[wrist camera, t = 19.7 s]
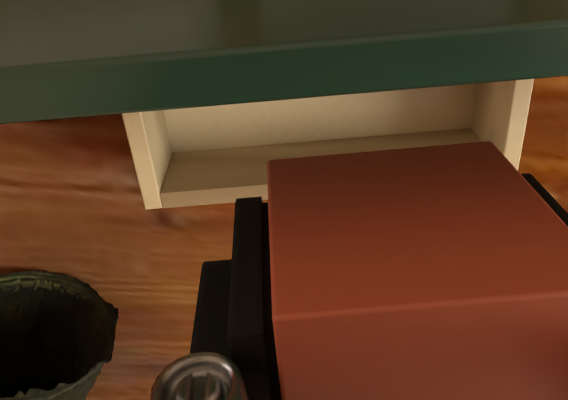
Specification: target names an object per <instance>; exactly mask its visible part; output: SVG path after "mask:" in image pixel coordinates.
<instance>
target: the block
mask: <svg viewBox="0 0 568 400" xmlns="http://www.w3.org/2000/svg"><path fill="white" fill-rule="evenodd" d="M267 187H268V215H269V243H270V271H271V299H272V322H273V330H274V339H275V347H276V356H277V365H278V373H279V382H280V391H281V399H282V400H568V226H567V225H566V224H565V223H564V222H563V221H562V220H561V219H560V217H559V216H558V215H557V214H556V213H555V212H554V211H553V210H552V209H551V207H550V206H549V205H548V204H547V203H546V202H545V201H544V200H543V198H542V197H541V196H540V195H539V194H538V193H537V192H536V191H535V190H534V188H533V187H532V186H531V185H530V184H529V183H528V182H527V181H526V179H525V178H524V177H523V176H522V175H521V174H520V173H519V172H518V171H517V169H516V168H515V167H514V166H513V165H512V164H511V163H510V162H509V160H508V159H507V158H506V157H505V156H504V155H503V154H502V153H501V152H500V150H499V149H498V148H497V147H496V146H495V145H494V144H493V143H492V142H490V141H484V142H472V143H461V144H449V145H437V146H426V147H414V148H403V149H391V150H379V151H368V152H356V153H345V154H333V155H321V156H310V157H298V158H287V159H275V160H269V161H268V162H267Z"/></svg>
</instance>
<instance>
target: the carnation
mask: <svg viewBox="0 0 568 400" xmlns="http://www.w3.org/2000/svg"><path fill="white" fill-rule="evenodd" d="M117 320H118V308H114V307H113V305H112V304H110V303H107V302H106V301H104V300H103V299H102V298H101V297H100V296H99V295H98V293H97V292H96V291H95V290H94V289H92V288H91V287H90V286H89V284H87V283H84V282H82V281H80V280H78V279H76V278H71V277H69V276H67V275H64V274H54V273H49V272H46V271H44V270H43V271H42V272H40V270H38V271H21V272H15V273H12V274H7V275H0V400H85V399H86V396H87V394H88V392H89V390H90V389H91V388H92V387H93V385H94V383H95V380H96V377H97V376H98V375H99V374H100V372H101V368H102V366H103V364H104V363H105V362H106V363H108V362H110V361H111V358H112V352H113V347H114V340H115V329H116V323H117Z"/></svg>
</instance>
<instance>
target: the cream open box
mask: <svg viewBox="0 0 568 400" xmlns="http://www.w3.org/2000/svg"><path fill="white" fill-rule="evenodd" d="M533 82H534V79H525V80H513V81H501V82H489V83H478V84H466V85H454V86H442V87H430V88H419V89H407V90H395V91H383V92H371V93H359V94H348V95H336V96H324V97H312V98H300V99H289V100H277V101H265V102H253V103H241V104H229V105H218V106H206V107H194V108H182V109H170V110H159V111H147V112H135V113H123V114H122V117H123V121H124V125H125V129H126V133H127V137H128V141H129V145H130V149H131V153H132V157H133V161H134V165H135V169H136V174H137V178H138V182H139V186H140V190H141V194H142V198H143V202H144V206H145V209H157V208H162V207H163V208H172V207H184V206H196V205H208V204H220V203H232V202H236V199H237V198H248V197H260V196H261V197H262V200H267V199H268V187H267V162H268V161H269V160H275V159H287V158H298V157H310V156H321V155H333V154H345V153H356V152H368V151H379V150H391V149H403V148H414V147H426V146H437V145H449V144H461V143H472V142H484V141H490V142H492V143H493V144H494V145H495V146H496V147H497V148H498V149H499V150H500V152H501V153H502V154H503V155H504V156H505V157H506V158H507V159H508V160H509V162H510V163H511V164H512V165H513V166H514V167H515V168H516V169H517V171H518V168H519V162H520V156H521V151H522V145H523V139H524V133H525V128H526V122H527V116H528V111H529V105H530V99H531V93H532V88H533Z"/></svg>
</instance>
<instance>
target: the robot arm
mask: <svg viewBox="0 0 568 400" xmlns="http://www.w3.org/2000/svg"><path fill="white" fill-rule="evenodd" d="M521 175H522V176H523V177H524V178H525V179H526V181H527V182H528V183H529V184H530V185H531V186H532V187H533V188H534V190H535V191H536V192H537V193H538V194H539V195H540V196H541V197H542V198H543V200H544V201H545V202H546V203H547V204H548V205H549V206H550V207H551V209H552V210H553V211H554V212H555V213H556V214H557V215H558V216H559V217H560V219H561V220H562V221H563V222H564V223H565V224H566V225H567V226H568V213H567V212H566V211H565V210H564V209H563V208H562V207H561V206H560V205H559V204H558V203H557V202H556V200H555V199H554V198H553V197H552V196H551V195H550V194H549V193H548V192H547V191H546V190H545V189H544V187H543V186H542V185H541V184H540V183H539V182H538V181H537V180H536V179H535V178H534V177H533V176H532V175H531V174H521ZM150 400H282V399H281V391H280V382H279V373H278V365H277V356H276V347H275V339H274V330H273V322H272V299H271V271H270V243H269V215H268V203H262V197H261V196H260V197H248V198H237V199H236V203H235V219H234V234H233V250H232V259H231V260H220V261H208V262H204V263H203V265H202V271H201V278H200V285H199V292H198V299H197V306H196V313H195V320H194V328H193V335H192V342H191V349H190V354H189V355H186V356H184V357H181V358H178V359H177V360H175V361H174V362H172V363H171V364H169V365H168V366H166V367H165V368H164V370H163V371H162V372H161V373H160V374H159V375H158V376H157V378H156V380H155V382H154V384H153V386H152V389H151V399H150Z"/></svg>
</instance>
